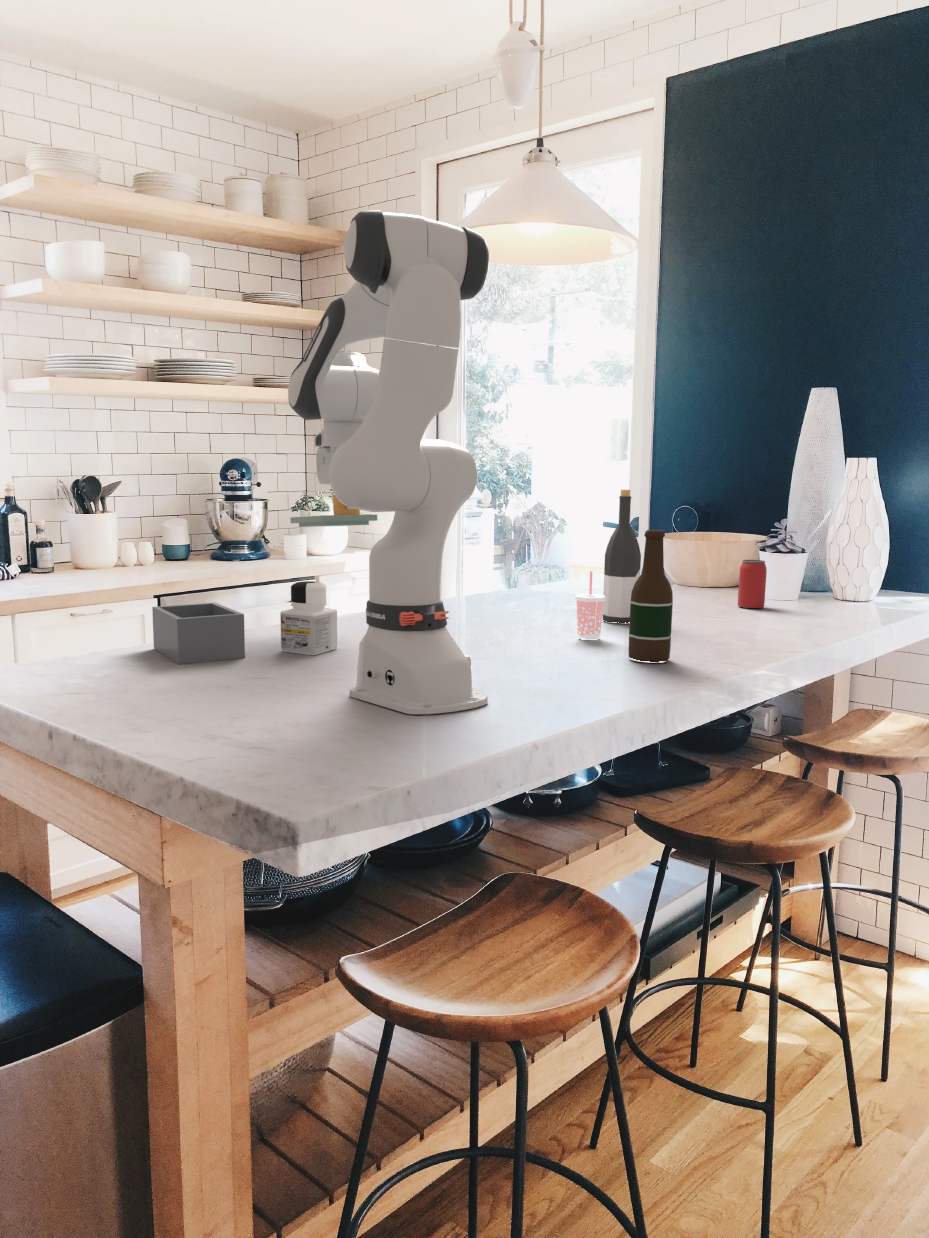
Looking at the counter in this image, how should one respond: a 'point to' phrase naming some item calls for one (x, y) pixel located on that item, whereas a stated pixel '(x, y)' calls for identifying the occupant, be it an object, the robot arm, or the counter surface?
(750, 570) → the beer can
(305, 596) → the container
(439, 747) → the counter surface
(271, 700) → the counter surface
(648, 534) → the beer bottle
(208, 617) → the tub
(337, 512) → the lid
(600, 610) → the beverage cup
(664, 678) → the counter surface
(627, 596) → the wine bottle
